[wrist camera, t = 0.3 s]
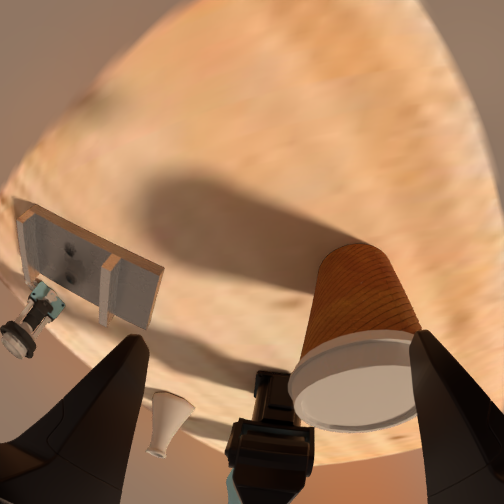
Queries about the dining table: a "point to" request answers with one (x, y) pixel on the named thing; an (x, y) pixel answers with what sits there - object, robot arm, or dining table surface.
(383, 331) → the disposable coffee cup
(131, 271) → the bracket
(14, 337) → the push button
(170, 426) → the flask
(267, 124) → the dining table surface
